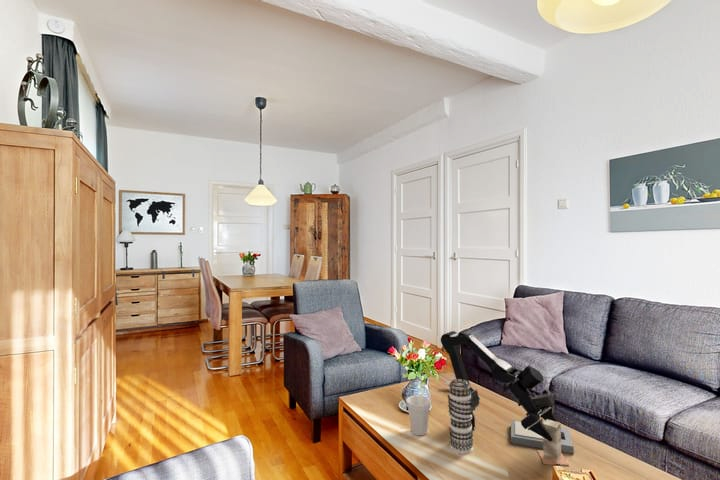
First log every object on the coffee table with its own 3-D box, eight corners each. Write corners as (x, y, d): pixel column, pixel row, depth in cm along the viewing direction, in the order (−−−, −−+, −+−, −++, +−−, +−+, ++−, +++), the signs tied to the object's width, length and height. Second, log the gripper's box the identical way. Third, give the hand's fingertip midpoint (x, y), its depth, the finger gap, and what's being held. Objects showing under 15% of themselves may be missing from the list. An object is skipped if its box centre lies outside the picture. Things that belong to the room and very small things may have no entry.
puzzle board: (511, 442, 143) (510, 435, 143) (511, 425, 156) (510, 418, 156) (573, 453, 135) (573, 445, 135) (568, 434, 148) (568, 427, 148)
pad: (543, 464, 129) (543, 462, 129) (537, 451, 137) (537, 450, 137) (568, 465, 128) (568, 464, 128) (560, 452, 135) (560, 451, 135)
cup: (412, 424, 159) (411, 393, 159) (435, 429, 154) (434, 398, 154) (403, 435, 150) (402, 402, 150) (426, 441, 145) (425, 407, 145)
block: (543, 457, 132) (542, 423, 132) (547, 452, 135) (546, 419, 135) (557, 462, 129) (556, 427, 129) (561, 456, 132) (560, 423, 132)
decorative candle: (471, 456, 134) (469, 387, 134) (446, 450, 139) (444, 383, 139) (476, 444, 142) (475, 379, 142) (452, 438, 147) (451, 375, 147)
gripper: (529, 392, 128) (565, 435, 121) (547, 377, 142) (581, 415, 134) (507, 408, 134) (540, 450, 126) (526, 392, 147) (557, 429, 139)
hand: (556, 435), depth 131 cm, fingers open, 9 cm apart
